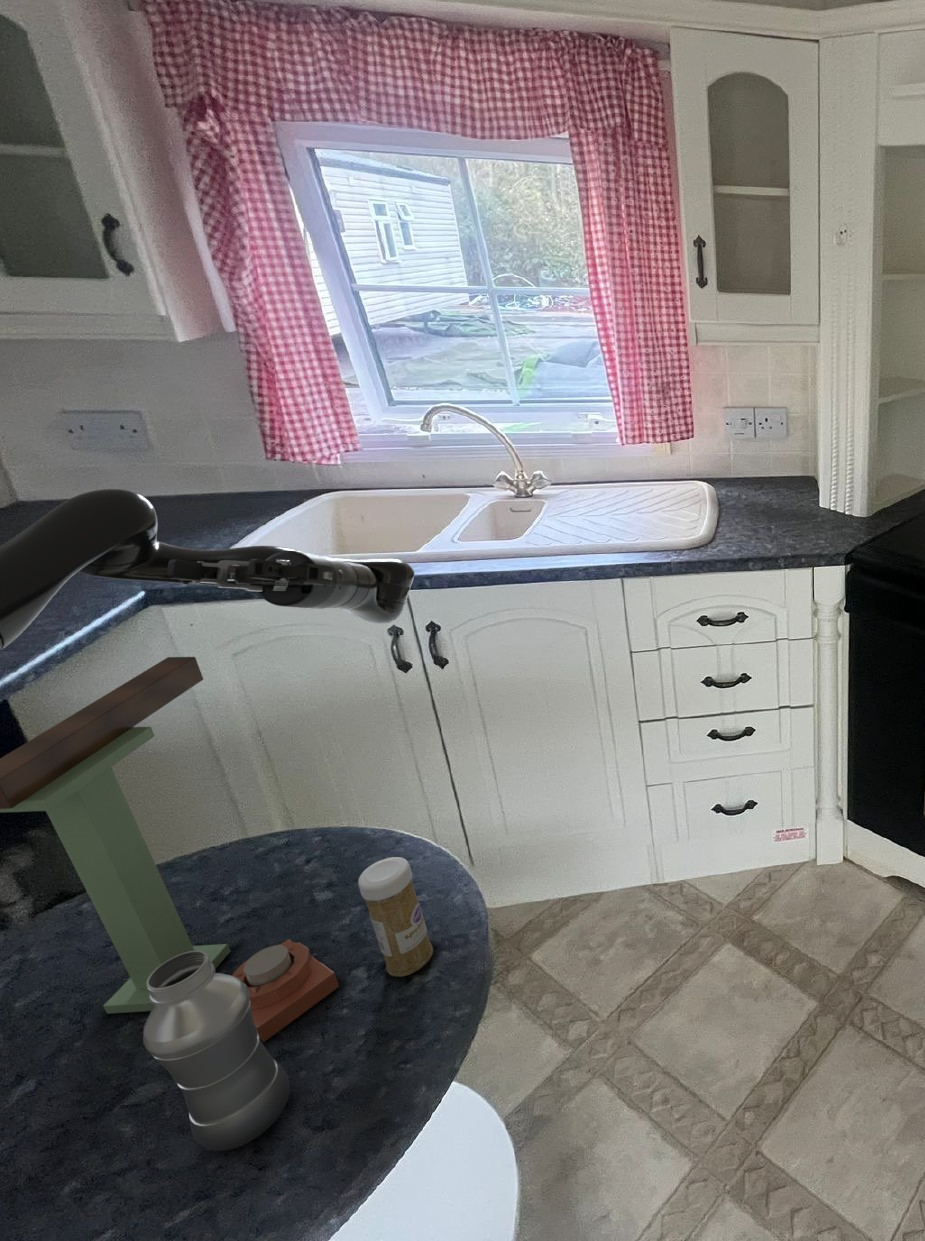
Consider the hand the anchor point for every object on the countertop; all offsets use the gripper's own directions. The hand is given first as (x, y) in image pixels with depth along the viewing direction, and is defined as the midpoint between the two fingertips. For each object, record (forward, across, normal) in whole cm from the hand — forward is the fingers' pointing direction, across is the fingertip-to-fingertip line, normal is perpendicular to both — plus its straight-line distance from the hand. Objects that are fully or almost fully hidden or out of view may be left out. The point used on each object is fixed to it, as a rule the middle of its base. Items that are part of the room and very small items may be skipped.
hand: (211, 568), depth 86 cm
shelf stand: (-1, 0, -46) cm, 46 cm away
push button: (+3, -13, -44) cm, 46 cm away
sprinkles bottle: (-2, -24, -45) cm, 51 cm away
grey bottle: (+13, -18, -54) cm, 58 cm away
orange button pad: (+1, -13, -47) cm, 49 cm away
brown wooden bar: (+10, 0, -18) cm, 21 cm away
